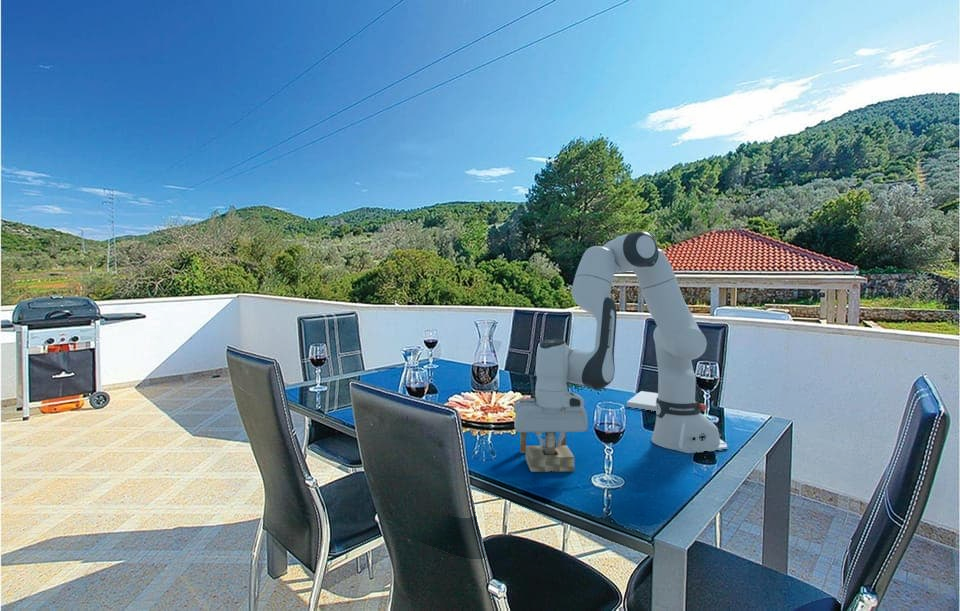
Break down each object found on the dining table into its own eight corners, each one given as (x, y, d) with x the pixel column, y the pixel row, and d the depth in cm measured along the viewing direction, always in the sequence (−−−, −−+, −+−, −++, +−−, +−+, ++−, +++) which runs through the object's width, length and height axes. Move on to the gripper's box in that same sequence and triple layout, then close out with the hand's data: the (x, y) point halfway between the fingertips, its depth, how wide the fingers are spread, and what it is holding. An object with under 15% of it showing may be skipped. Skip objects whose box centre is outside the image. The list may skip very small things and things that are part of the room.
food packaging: (664, 415, 191) (676, 403, 207) (665, 407, 191) (676, 395, 207) (626, 409, 199) (640, 398, 216) (626, 401, 199) (640, 391, 216)
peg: (555, 461, 135) (556, 432, 135) (545, 461, 135) (546, 433, 135) (553, 457, 138) (554, 429, 138) (544, 457, 138) (544, 429, 138)
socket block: (566, 458, 142) (566, 445, 142) (574, 471, 133) (574, 456, 133) (525, 459, 142) (526, 445, 142) (530, 471, 133) (530, 457, 133)
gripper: (515, 401, 132) (514, 451, 133) (590, 400, 133) (588, 450, 134) (512, 395, 138) (512, 443, 139) (583, 395, 139) (582, 442, 140)
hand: (550, 446), depth 136 cm, fingers closed on peg, 3 cm apart
